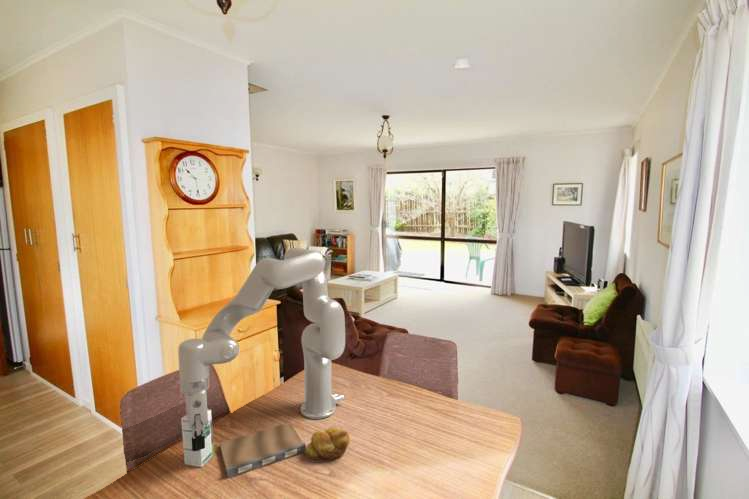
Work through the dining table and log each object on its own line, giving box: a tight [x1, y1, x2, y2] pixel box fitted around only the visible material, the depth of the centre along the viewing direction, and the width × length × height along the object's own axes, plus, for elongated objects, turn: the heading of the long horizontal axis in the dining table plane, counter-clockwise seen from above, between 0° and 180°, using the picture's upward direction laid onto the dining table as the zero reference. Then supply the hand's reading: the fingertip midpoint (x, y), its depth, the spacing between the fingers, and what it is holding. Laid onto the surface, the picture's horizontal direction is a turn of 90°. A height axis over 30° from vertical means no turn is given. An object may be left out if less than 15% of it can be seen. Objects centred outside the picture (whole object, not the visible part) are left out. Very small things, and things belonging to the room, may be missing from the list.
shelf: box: [219, 421, 307, 479], centre depth 114 cm, size 22×15×2 cm
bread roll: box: [305, 426, 350, 460], centre depth 113 cm, size 13×10×8 cm
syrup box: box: [180, 408, 215, 468], centre depth 108 cm, size 6×6×14 cm
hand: (197, 439), depth 108 cm, fingers open, 9 cm apart
